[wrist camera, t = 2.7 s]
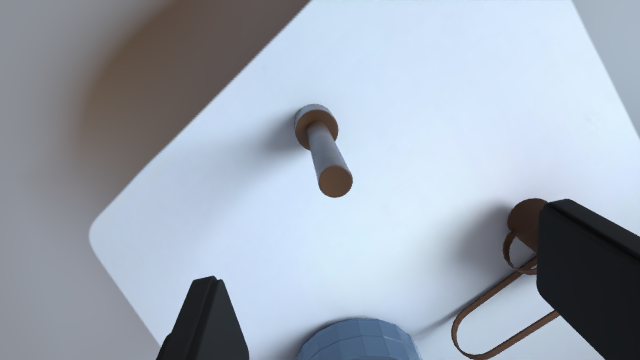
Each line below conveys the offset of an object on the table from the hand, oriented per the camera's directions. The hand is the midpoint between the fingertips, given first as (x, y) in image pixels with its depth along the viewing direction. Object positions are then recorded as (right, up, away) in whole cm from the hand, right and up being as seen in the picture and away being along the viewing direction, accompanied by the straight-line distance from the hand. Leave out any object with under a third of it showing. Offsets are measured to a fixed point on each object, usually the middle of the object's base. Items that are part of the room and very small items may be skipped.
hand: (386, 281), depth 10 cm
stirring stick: (-2, +8, +22) cm, 24 cm away
